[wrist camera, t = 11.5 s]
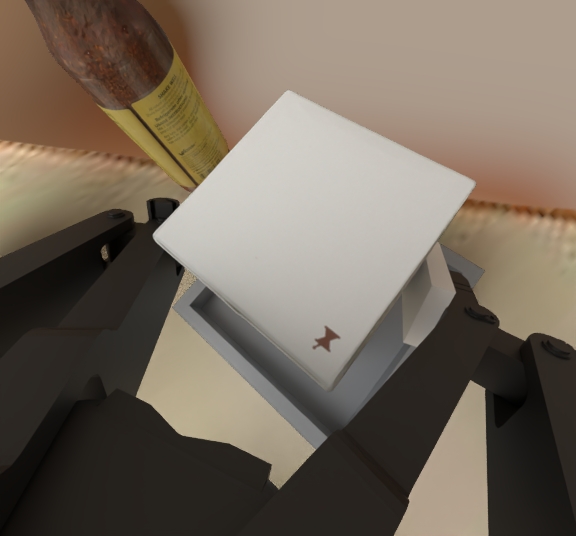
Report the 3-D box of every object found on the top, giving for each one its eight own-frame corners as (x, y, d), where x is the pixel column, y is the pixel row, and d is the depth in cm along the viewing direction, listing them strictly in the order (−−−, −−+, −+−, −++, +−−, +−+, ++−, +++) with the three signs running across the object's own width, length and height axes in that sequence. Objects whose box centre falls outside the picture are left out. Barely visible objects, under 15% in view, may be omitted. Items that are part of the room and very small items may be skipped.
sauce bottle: (234, 139, 28) (30, -311, 9) (236, 192, 26) (-18, -233, 7) (175, 150, 28) (-133, -242, 9) (172, 202, 26) (-215, -155, 8)
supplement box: (391, 285, 19) (494, 182, 7) (328, 368, 18) (328, 407, 6) (311, 229, 21) (289, 79, 9) (250, 301, 20) (140, 236, 8)
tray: (466, 279, 20) (485, 270, 18) (339, 457, 18) (341, 474, 16) (304, 177, 25) (301, 160, 23) (188, 311, 23) (171, 307, 21)
